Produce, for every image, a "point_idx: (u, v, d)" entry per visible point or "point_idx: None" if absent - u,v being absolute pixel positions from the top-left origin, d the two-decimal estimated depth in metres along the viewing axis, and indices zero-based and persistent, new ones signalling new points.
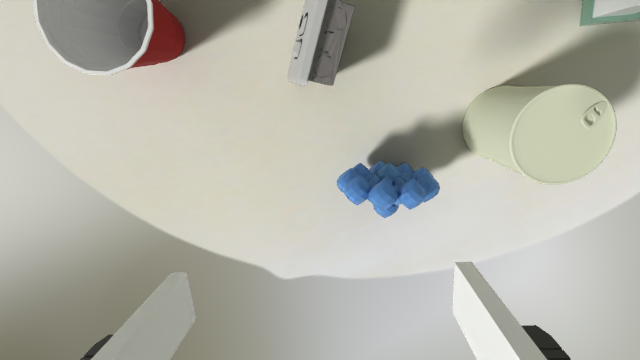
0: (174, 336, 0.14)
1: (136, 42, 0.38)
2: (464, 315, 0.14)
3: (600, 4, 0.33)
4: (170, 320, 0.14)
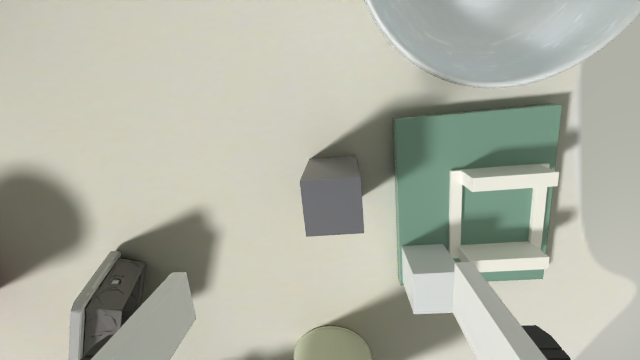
0: (174, 336, 0.14)
1: None
2: (464, 315, 0.14)
3: (404, 276, 0.31)
4: (170, 320, 0.14)
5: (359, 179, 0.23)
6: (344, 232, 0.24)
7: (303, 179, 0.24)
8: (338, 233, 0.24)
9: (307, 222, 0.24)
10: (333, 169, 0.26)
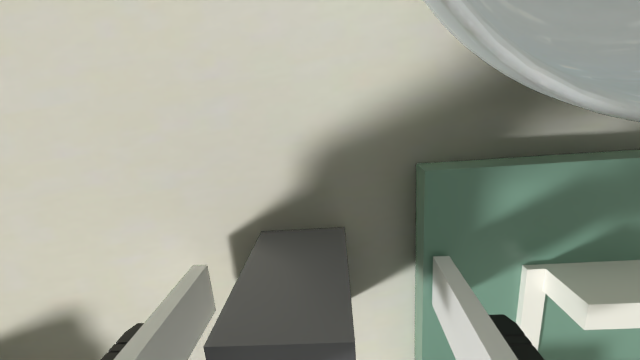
0: (197, 326, 0.15)
1: None
2: (441, 306, 0.14)
3: None
4: (194, 310, 0.14)
5: (351, 348, 0.09)
6: None
7: (216, 335, 0.10)
8: None
9: None
10: (296, 285, 0.12)
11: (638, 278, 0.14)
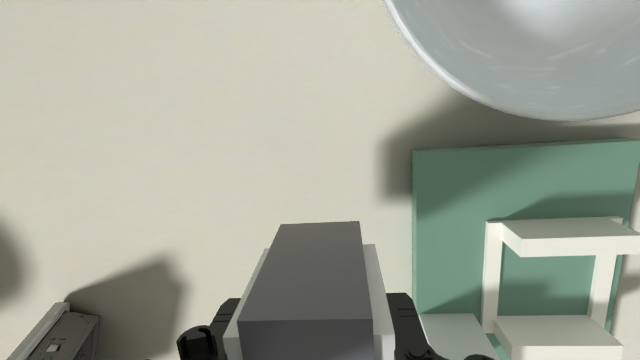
0: None
1: None
2: None
3: None
4: None
5: (370, 324, 0.10)
6: None
7: (247, 311, 0.11)
8: None
9: None
10: (316, 271, 0.13)
11: (562, 227, 0.20)
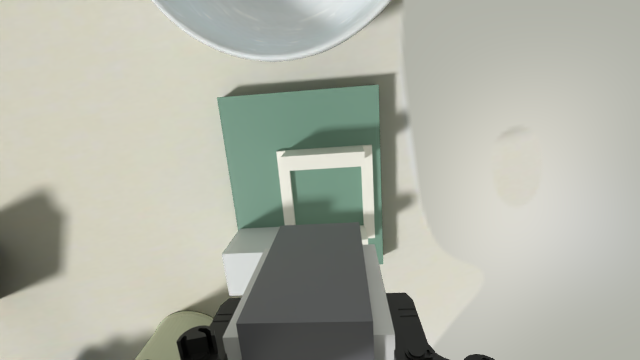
0: None
1: None
2: None
3: None
4: None
5: (370, 326, 0.10)
6: None
7: (246, 313, 0.11)
8: None
9: None
10: (316, 273, 0.13)
11: (321, 150, 0.27)
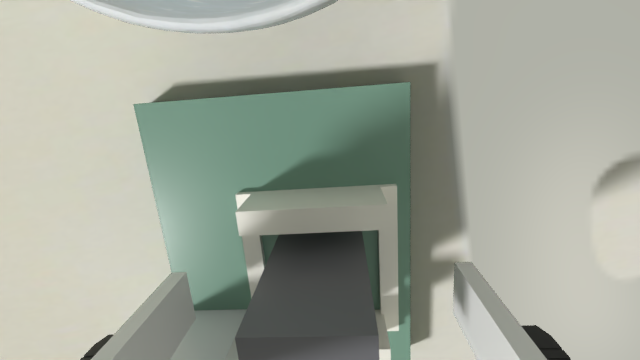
0: (174, 336, 0.14)
1: None
2: (464, 315, 0.14)
3: None
4: (170, 320, 0.14)
5: (375, 341, 0.10)
6: None
7: (246, 326, 0.10)
8: None
9: None
10: (318, 282, 0.13)
11: (309, 197, 0.15)
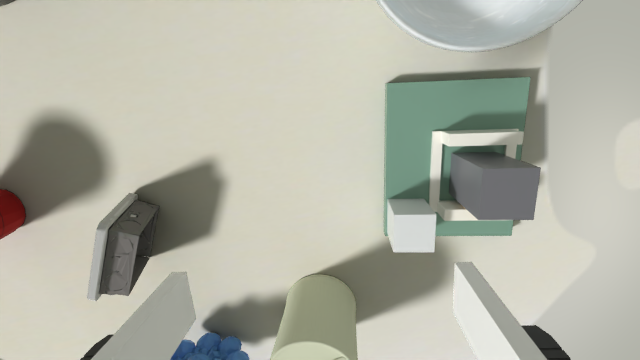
0: (174, 336, 0.14)
1: None
2: (464, 315, 0.14)
3: (388, 225, 0.35)
4: (170, 320, 0.14)
5: (539, 170, 0.26)
6: (515, 218, 0.27)
7: (483, 167, 0.26)
8: (509, 218, 0.27)
9: (482, 207, 0.27)
10: (497, 161, 0.29)
11: (478, 131, 0.32)
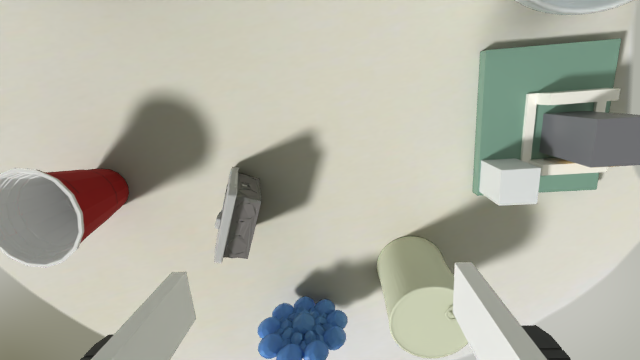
0: (173, 336, 0.14)
1: None
2: (464, 315, 0.14)
3: (482, 184, 0.38)
4: (170, 320, 0.14)
5: None
6: (624, 164, 0.30)
7: (596, 118, 0.29)
8: (619, 165, 0.30)
9: (595, 155, 0.30)
10: (601, 115, 0.31)
11: None
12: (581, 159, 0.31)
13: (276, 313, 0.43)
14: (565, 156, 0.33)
